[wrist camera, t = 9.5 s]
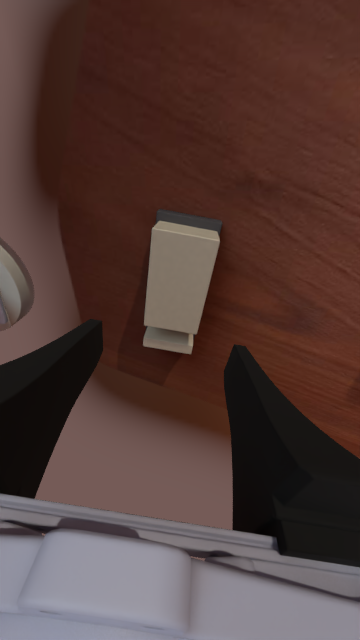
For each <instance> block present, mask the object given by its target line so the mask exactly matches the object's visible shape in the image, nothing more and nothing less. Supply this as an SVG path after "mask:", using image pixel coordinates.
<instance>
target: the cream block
mask: <svg viewBox="0 0 360 640" xmlns="http://www.w3.org/2000/svg"><path fill="white" fill-rule="evenodd" d="M221 227H222V222H221V220H216V219H211V218H205V217H200V216H195V215H189V214H184V213H179V212H173V211H168V210H163V209H159V210H158V211H157V218H156V225H155V226H154V227H153V228H152V236H151V248H150V259H149V271H148V282H147V294H146V305H145V317H144V325H145V326H146V333H145V335H144V340H143V346H146V347H151V348H157V349H163V350H169V351H174V352H180V353H186V354H191V352H192V348H193V340H194V336H195V334H197V331H198V327H199V323H200V319H201V316H202V312H203V308H204V304H205V300H206V296H207V292H208V288H209V284H210V280H211V276H212V272H213V268H214V264H215V260H216V256H217V252H218V248H219V244H220V239H219V235H220V231H221Z"/></svg>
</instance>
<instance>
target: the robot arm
mask: <svg viewBox="0 0 360 640" xmlns="http://www.w3.org/2000/svg"><path fill="white" fill-rule="evenodd" d="M7 322H8V318H7V315H6V312H5V309H4V306H3V302H2V299H1V296H0V324H5V323H7ZM102 351H103V336H102V321H99V320H94V319H90V320H88V321H86V322H85V323H83V324H81V325H80V326H78V327H77V328H75V329H73V330H72V331H70V332H68V333H67V334H65V335H63V336H62V337H60V338H58V339H57V340H55V341H53V342H51V343H49V344H47V345H45V346H43V347H41V348H40V349H38V350H35V351H33V352H31V353H29V354H27V355H25V356H22V357H20V358H18V359H15V360H13V361H10V362H8V363H5V364H2V365H0V640H360V459H359V458H358V457H356V456H355V455H353V454H352V453H350V452H349V451H348V450H346V449H345V448H343V447H342V446H341V445H339V444H338V443H337V442H335V441H334V440H333V439H332V438H330V437H329V436H328V435H326V434H325V433H324V432H323V431H322V430H320V429H319V428H318V427H317V426H315V425H314V424H313V423H312V422H311V421H310V420H309V419H308V418H306V417H305V416H304V415H303V414H302V413H301V412H300V411H299V410H298V409H297V408H296V407H295V406H294V405H293V404H292V403H291V402H290V401H289V400H288V399H287V398H286V397H285V396H284V395H283V394H282V393H281V392H280V391H279V389H278V388H277V387H276V386H275V385H274V384H273V382H272V381H271V380H270V379H269V378H268V376H267V375H266V374H265V372H264V371H263V370H262V368H261V367H260V366H259V364H258V363H257V362H256V360H255V359H254V358H253V356H252V355H251V353H250V352H249V351H248V349H247V348H246V347H245V346H241V345H235V344H234V346H233V349H232V351H231V354H230V357H229V359H228V362H227V365H226V367H225V370H224V389H225V396H226V403H227V410H228V416H229V422H230V430H231V444H232V470H233V530H228V529H222V528H215V527H209V526H203V525H196V524H190V523H183V522H177V521H171V520H164V519H158V518H152V517H146V516H139V515H133V514H127V513H120V512H113V511H108V510H101V509H95V508H89V507H82V506H76V505H70V504H63V503H57V502H50V501H44V500H38V499H34V498H35V496H36V493H37V490H38V488H39V485H40V482H41V480H42V477H43V475H44V472H45V469H46V467H47V464H48V462H49V459H50V457H51V455H52V452H53V450H54V447H55V445H56V443H57V440H58V438H59V436H60V433H61V431H62V429H63V427H64V424H65V422H66V420H67V418H68V416H69V414H70V411H71V409H72V407H73V405H74V404H75V402H76V400H77V398H78V396H79V394H80V393H81V391H82V390H83V388H84V386H85V385H86V383H87V381H88V379H89V378H90V376H91V374H92V373H93V371H94V369H95V367H96V366H97V363H98V361H99V359H100V356H101V354H102ZM42 533H44V534H46V535H45V536H42ZM190 556H193V557H199V558H206V559H205V561H202V560H198V559H194V558H190Z"/></svg>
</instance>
